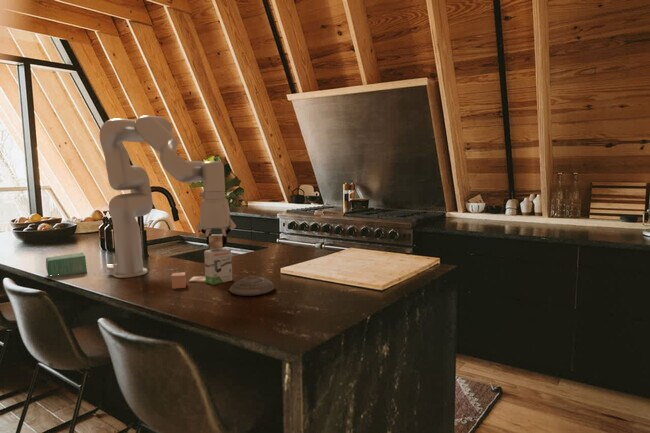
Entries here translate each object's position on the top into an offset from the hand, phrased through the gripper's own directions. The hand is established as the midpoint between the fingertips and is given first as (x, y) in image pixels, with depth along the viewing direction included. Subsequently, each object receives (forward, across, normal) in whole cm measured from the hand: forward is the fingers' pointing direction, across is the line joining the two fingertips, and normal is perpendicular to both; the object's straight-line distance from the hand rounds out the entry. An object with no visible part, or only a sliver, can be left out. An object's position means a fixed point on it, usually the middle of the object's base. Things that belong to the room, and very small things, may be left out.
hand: (217, 246), depth 168 cm
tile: (+13, -8, +3) cm, 16 cm away
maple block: (0, 0, 0) cm, 0 cm away
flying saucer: (+13, +14, -14) cm, 24 cm away
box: (+13, -65, +18) cm, 68 cm away
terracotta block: (+13, -13, -5) cm, 19 cm away
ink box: (+13, 0, 0) cm, 13 cm away
